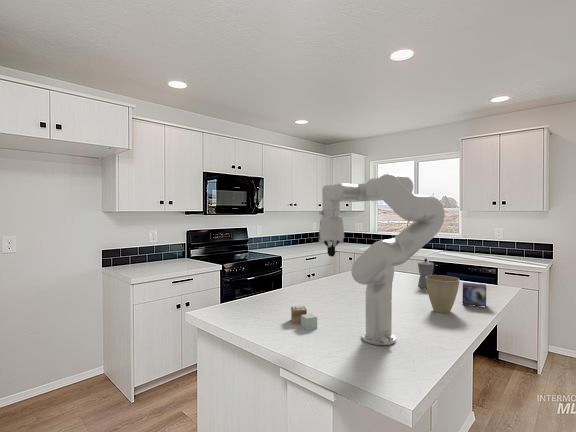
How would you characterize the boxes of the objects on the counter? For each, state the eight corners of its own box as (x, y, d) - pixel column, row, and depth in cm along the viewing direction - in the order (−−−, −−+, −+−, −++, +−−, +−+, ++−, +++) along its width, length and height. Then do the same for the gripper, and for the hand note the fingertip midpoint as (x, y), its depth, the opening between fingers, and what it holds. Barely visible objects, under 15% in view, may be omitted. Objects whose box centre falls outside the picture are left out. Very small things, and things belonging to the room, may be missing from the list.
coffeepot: (424, 290, 201) (424, 260, 201) (412, 286, 209) (412, 258, 209) (441, 287, 208) (441, 258, 208) (429, 284, 216) (429, 256, 216)
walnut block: (292, 310, 143) (293, 324, 143) (306, 309, 143) (306, 323, 144) (291, 306, 149) (291, 319, 149) (304, 305, 149) (304, 319, 150)
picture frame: (462, 305, 169) (462, 284, 169) (462, 302, 175) (462, 282, 175) (486, 308, 164) (486, 287, 164) (485, 304, 170) (485, 284, 170)
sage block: (317, 328, 138) (317, 316, 137) (306, 330, 136) (306, 318, 135) (311, 325, 142) (311, 313, 142) (301, 326, 140) (301, 315, 140)
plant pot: (448, 318, 150) (448, 282, 149) (419, 309, 162) (419, 277, 162) (465, 312, 158) (466, 278, 157) (436, 304, 170) (437, 273, 170)
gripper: (316, 214, 139) (316, 257, 139) (350, 213, 141) (350, 256, 142) (312, 213, 146) (312, 255, 146) (344, 213, 149) (344, 254, 149)
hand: (331, 256), depth 144 cm, fingers closed
